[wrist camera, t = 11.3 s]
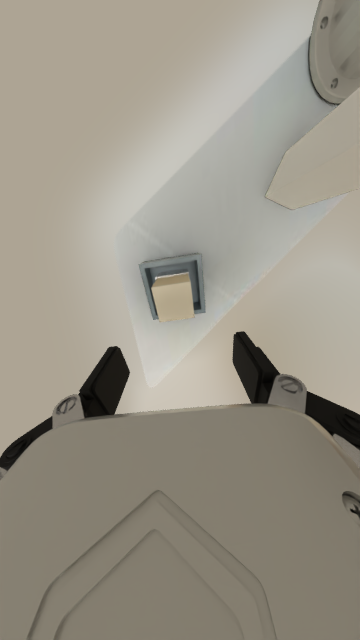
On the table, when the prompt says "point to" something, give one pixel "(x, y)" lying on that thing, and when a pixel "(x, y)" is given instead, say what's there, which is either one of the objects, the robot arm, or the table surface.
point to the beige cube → (173, 298)
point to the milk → (321, 160)
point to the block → (172, 273)
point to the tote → (169, 264)
